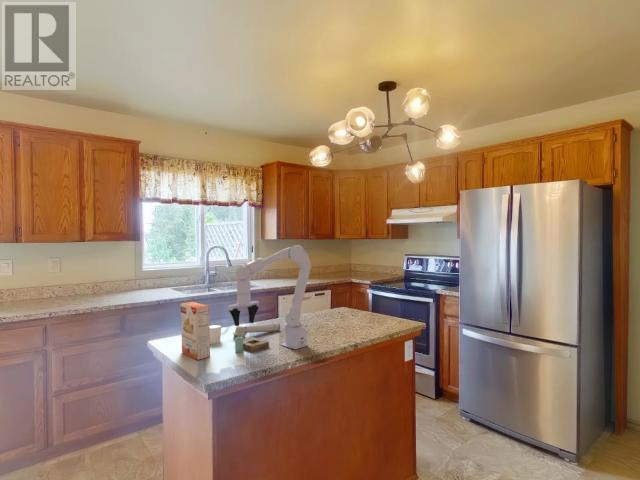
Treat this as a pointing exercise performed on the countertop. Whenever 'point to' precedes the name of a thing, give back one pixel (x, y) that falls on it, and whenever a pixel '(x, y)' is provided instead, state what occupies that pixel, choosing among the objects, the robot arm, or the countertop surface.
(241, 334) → the cream knobbed rod
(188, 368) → the countertop surface
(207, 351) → the cracker box
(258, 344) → the socket board
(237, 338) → the peg
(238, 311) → the robot arm
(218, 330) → the white cup
